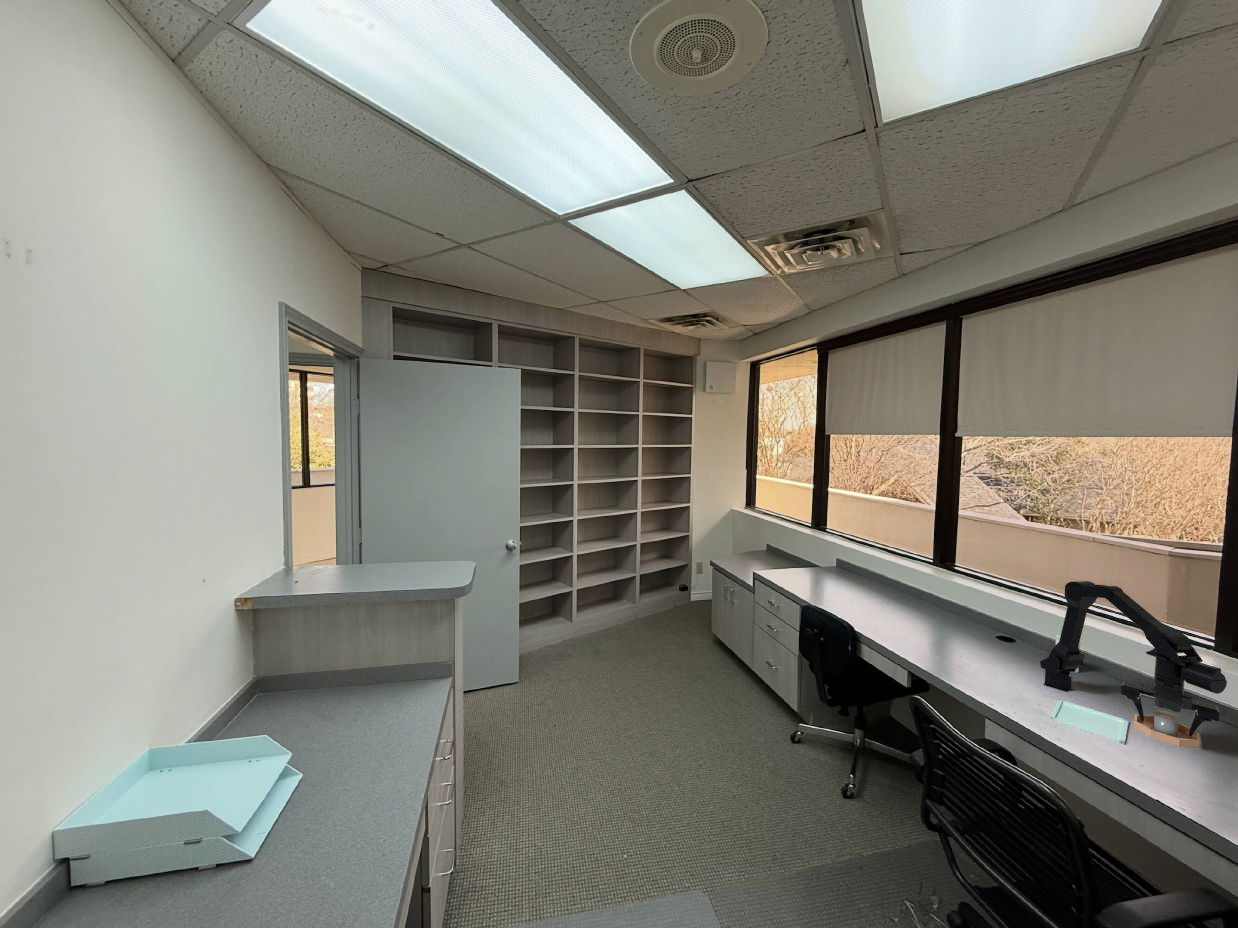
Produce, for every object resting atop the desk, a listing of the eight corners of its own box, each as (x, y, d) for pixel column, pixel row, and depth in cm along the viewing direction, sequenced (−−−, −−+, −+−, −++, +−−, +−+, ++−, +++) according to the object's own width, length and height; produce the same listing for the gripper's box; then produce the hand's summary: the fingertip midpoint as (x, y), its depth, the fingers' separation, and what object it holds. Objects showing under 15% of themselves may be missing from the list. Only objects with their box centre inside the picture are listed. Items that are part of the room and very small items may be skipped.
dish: (1132, 733, 143) (1133, 724, 143) (1134, 717, 151) (1135, 709, 151) (1200, 754, 133) (1200, 745, 133) (1198, 736, 142) (1199, 728, 142)
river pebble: (1153, 729, 144) (1154, 712, 144) (1153, 723, 147) (1154, 707, 147) (1177, 736, 141) (1178, 719, 141) (1177, 730, 144) (1178, 714, 144)
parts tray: (1049, 721, 149) (1049, 717, 149) (1058, 702, 160) (1058, 698, 160) (1124, 746, 137) (1124, 742, 136) (1128, 724, 148) (1128, 720, 148)
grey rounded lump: (1153, 735, 141) (1154, 718, 141) (1153, 729, 144) (1154, 713, 144) (1177, 743, 137) (1178, 725, 137) (1177, 736, 140) (1178, 720, 140)
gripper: (1121, 672, 142) (1117, 723, 142) (1222, 698, 128) (1218, 755, 128) (1123, 661, 149) (1120, 710, 150) (1220, 685, 135) (1216, 739, 136)
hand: (1165, 728), depth 141 cm, fingers open, 9 cm apart
